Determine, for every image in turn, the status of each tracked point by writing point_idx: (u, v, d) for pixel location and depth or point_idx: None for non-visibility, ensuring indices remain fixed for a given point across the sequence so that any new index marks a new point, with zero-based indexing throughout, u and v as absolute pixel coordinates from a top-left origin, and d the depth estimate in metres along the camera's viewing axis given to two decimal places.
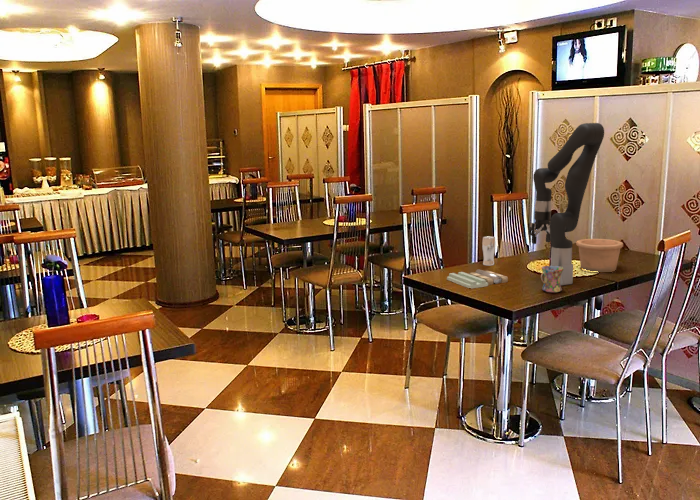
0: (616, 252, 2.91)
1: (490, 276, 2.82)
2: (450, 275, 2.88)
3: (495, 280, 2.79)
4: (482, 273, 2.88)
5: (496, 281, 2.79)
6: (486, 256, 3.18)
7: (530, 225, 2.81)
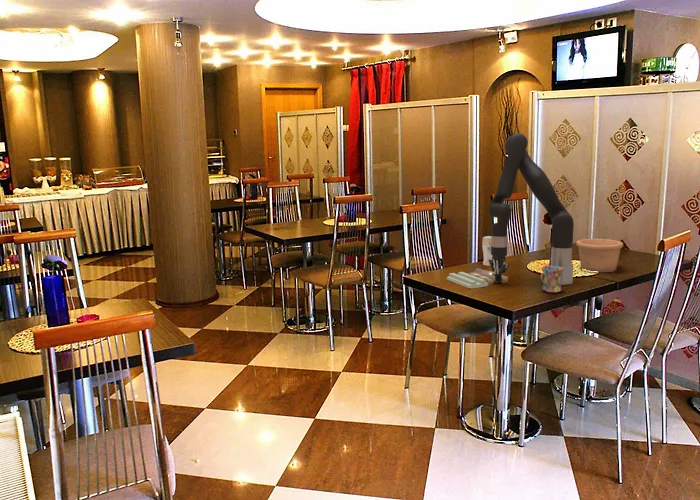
0: (616, 252, 2.91)
1: (490, 274, 2.83)
2: (450, 275, 2.88)
3: (494, 278, 2.80)
4: (482, 271, 2.89)
5: (495, 279, 2.80)
6: (486, 256, 3.18)
7: (505, 267, 2.72)
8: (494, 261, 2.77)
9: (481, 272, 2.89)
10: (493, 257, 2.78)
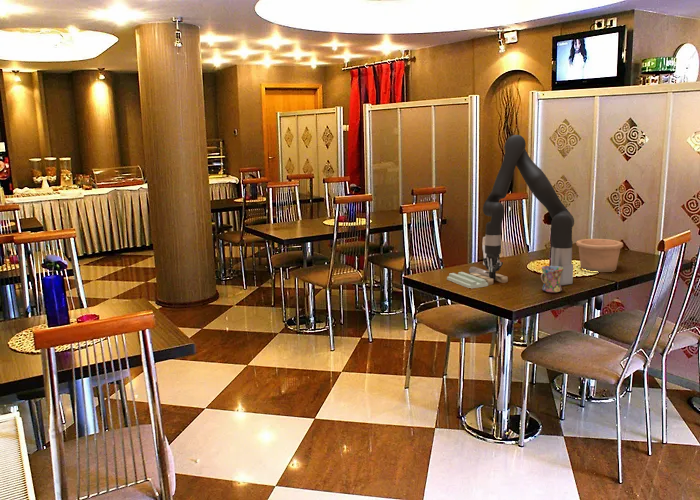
0: (616, 252, 2.91)
1: (484, 272, 2.87)
2: (450, 275, 2.88)
3: (488, 276, 2.84)
4: (476, 269, 2.93)
5: (489, 277, 2.85)
6: None
7: (499, 265, 2.76)
8: (488, 259, 2.81)
9: (476, 270, 2.94)
10: (487, 255, 2.83)
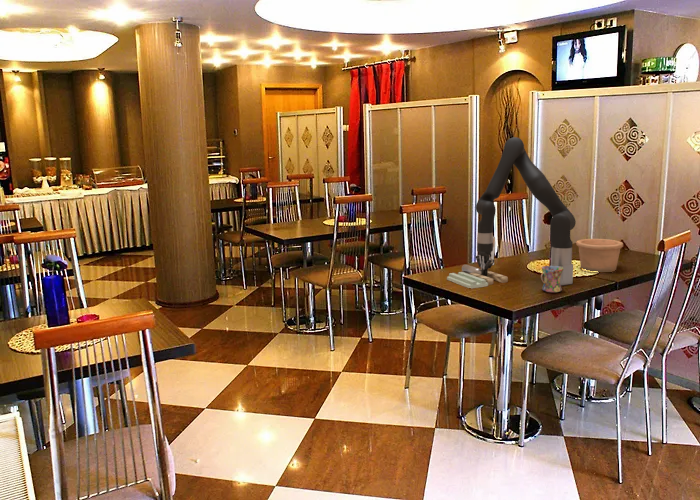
0: (616, 252, 2.91)
1: (476, 270, 2.93)
2: (450, 275, 2.88)
3: (480, 274, 2.90)
4: (469, 267, 3.00)
5: None
6: None
7: (491, 262, 2.82)
8: (480, 257, 2.87)
9: (468, 268, 3.00)
10: (479, 253, 2.89)
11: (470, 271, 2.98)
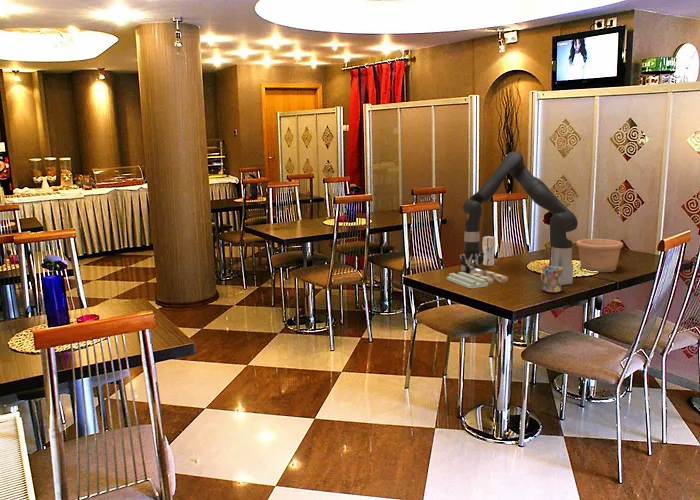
0: (616, 252, 2.91)
1: (475, 270, 2.93)
2: (450, 275, 2.88)
3: None
4: None
5: None
6: (486, 256, 3.18)
7: None
8: (472, 256, 2.96)
9: None
10: (468, 253, 2.95)
11: None
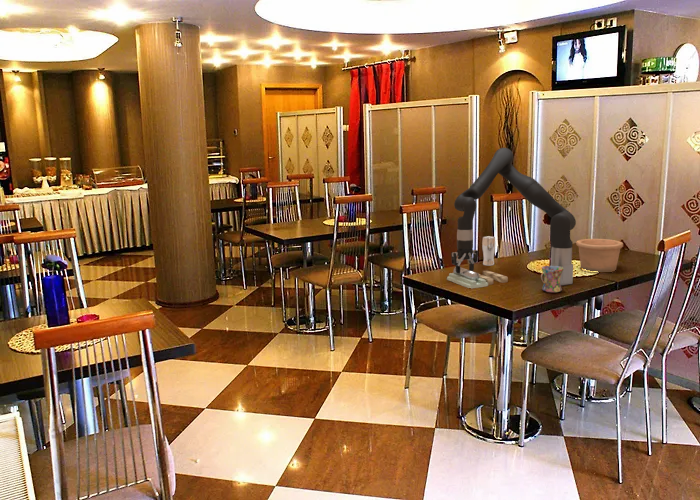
0: (616, 252, 2.91)
1: (468, 273, 2.77)
2: (450, 275, 2.88)
3: (473, 277, 2.74)
4: (460, 270, 2.83)
5: (474, 278, 2.75)
6: (486, 256, 3.18)
7: None
8: (465, 255, 2.79)
9: None
10: (461, 252, 2.79)
11: (462, 275, 2.82)
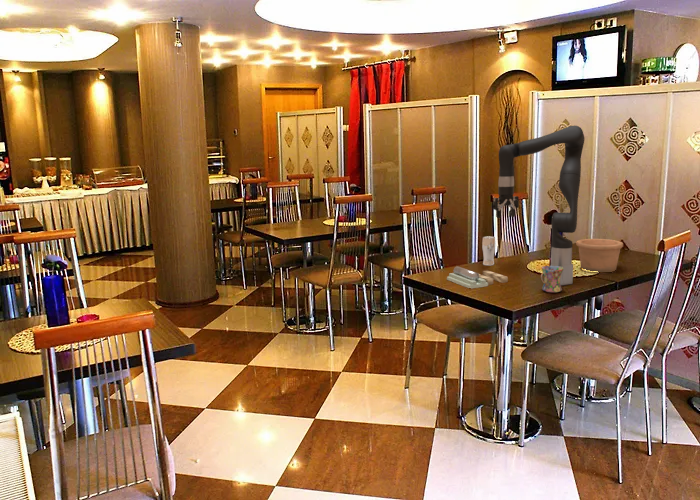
0: (616, 252, 2.91)
1: (468, 273, 2.77)
2: (450, 275, 2.88)
3: (473, 277, 2.74)
4: (460, 270, 2.83)
5: (474, 278, 2.75)
6: (486, 256, 3.18)
7: None
8: (506, 201, 2.94)
9: (459, 271, 2.84)
10: (503, 198, 2.94)
11: (462, 274, 2.82)
